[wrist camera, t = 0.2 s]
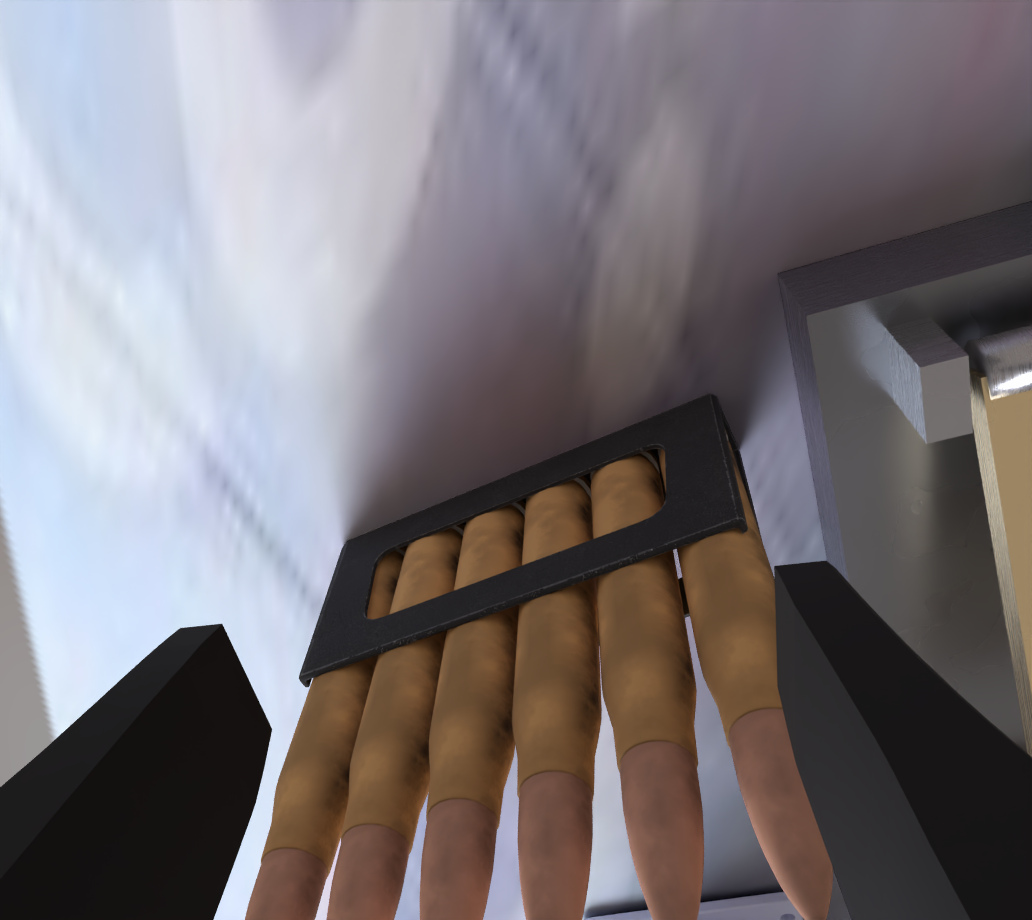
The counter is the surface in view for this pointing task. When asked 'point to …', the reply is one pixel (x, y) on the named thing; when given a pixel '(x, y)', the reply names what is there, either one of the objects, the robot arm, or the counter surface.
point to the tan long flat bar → (1008, 484)
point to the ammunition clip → (542, 688)
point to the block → (913, 435)
